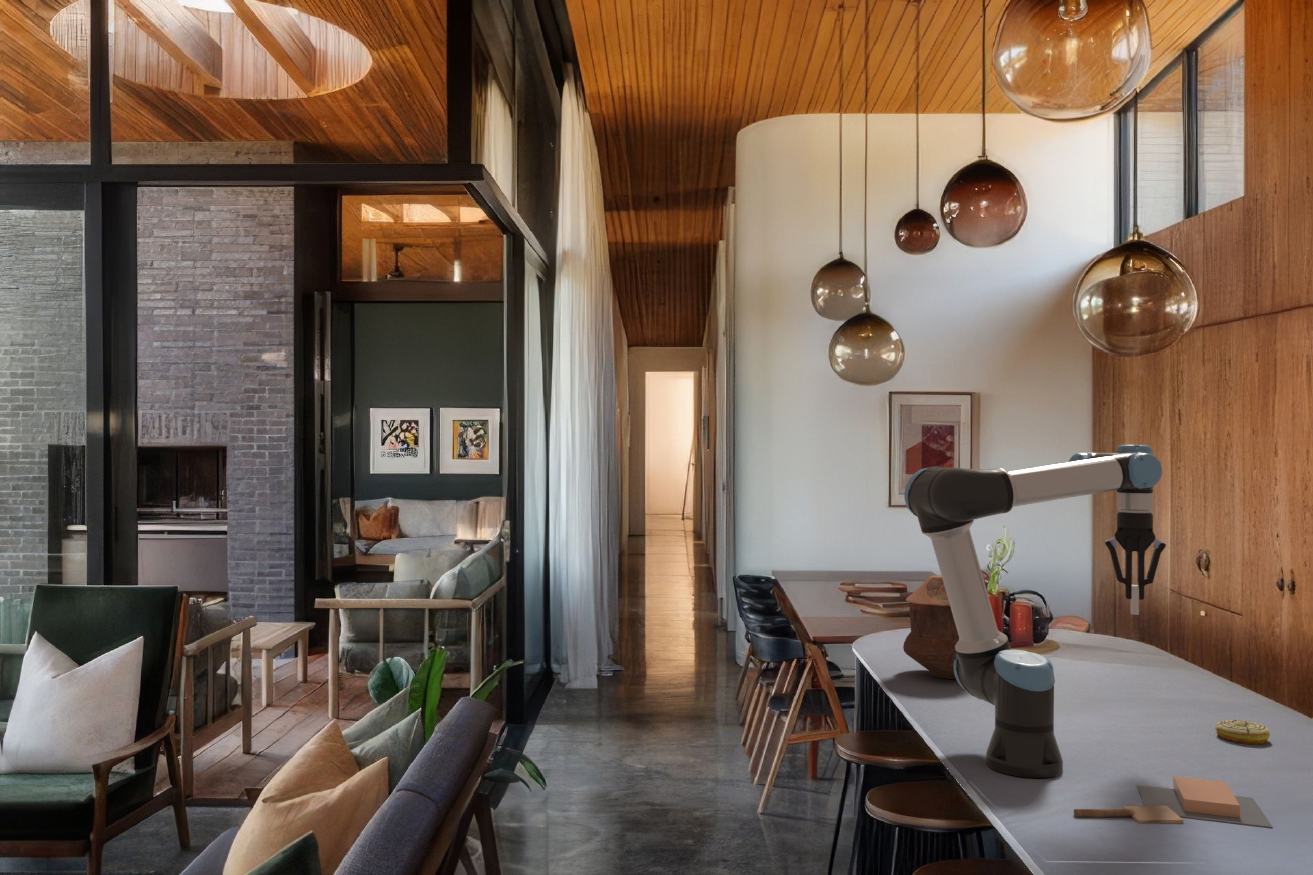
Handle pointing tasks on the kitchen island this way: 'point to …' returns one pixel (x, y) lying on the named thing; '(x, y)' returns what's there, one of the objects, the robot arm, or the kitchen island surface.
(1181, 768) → the kitchen island surface
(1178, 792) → the tile
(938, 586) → the pottery vessel
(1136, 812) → the wooden turner
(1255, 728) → the decorated donut
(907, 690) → the kitchen island surface
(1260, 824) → the mat
